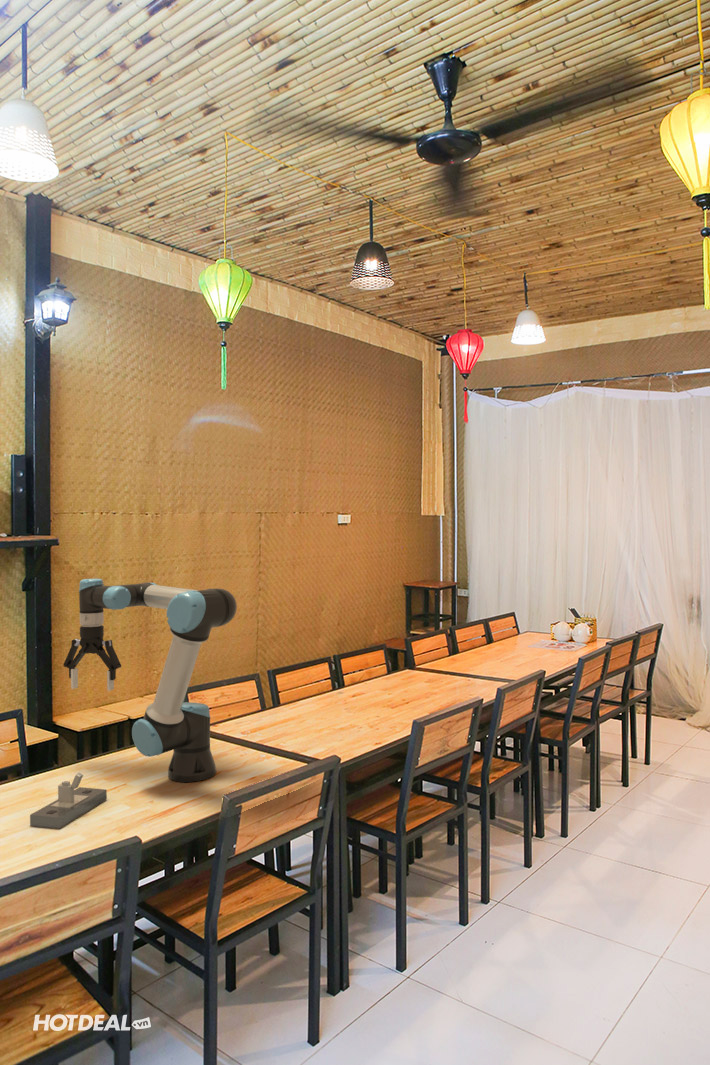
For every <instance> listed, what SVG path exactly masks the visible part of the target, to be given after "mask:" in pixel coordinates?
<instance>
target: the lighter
mask: <svg viewBox="0 0 710 1065" xmlns="http://www.w3.org/2000/svg"><path fill="white" fill-rule="evenodd" d="M83 777H84V774H83V773H82V772H80V771H79V772H77V773H76V774H75V776H74V778H73V781H72V783H71V782H70V781H67V780H65V781H62V782H61V783H60V784H59V785H57V789H58V790H57V797H58V798H57V800H58V801H64V802H72V801H74V790H76V789H77V788H79V786H80V784H81V781H82V778H83Z"/></svg>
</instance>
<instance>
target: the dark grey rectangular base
mask: <svg viewBox="0 0 710 1065" xmlns="http://www.w3.org/2000/svg"><path fill="white" fill-rule="evenodd" d="M107 793H108V792H107V789H105V788H103V789H102V788H96V787H95V788H92V787H81V786H80V787H79V786H78V787H77V788H76V789H74V801H72V802H64V801H58V799H55V800H54V801H53V802H51V803H49V804H47V805H46V806H43V807H42V808H39V809H38V810H36V811H35V812H33V813H31V814H30V815H29V826H30V827H36V828H47V829H54V830H55V829H56V830H59V829H61V828H63V827H65V826H67V825H68V824H70V823H71V822H73V821H75V820H76V819H78V818H80V817H81V816H83V815H84V814H85V813H88V812H89V811H90V810H92V809H94V808H96V807H97V806H99V805H101V804H102V803H104V802H105V801H107V800H106V799H107ZM103 801H104V802H103ZM95 806H96V807H95Z"/></svg>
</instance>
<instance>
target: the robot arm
mask: <svg viewBox="0 0 710 1065" xmlns="http://www.w3.org/2000/svg"><path fill="white" fill-rule="evenodd" d="M78 589H79V590H78V596H79V597H78V598H79V599H78V600H79V602H78V603H79V604H78V605H79V625H80V627H79V637H80V639H79V638H75V639H72V640H71V646H70V648H69V651H68V654H67V656H65V657H66V658H65V660H64V662H63V667H64V668H67V669H68V678H69V679H70V689H71V690H74V689H77V688H79V668H78V667H77V665H79V663H80V662H81V660H82V659H83V658H84V656H85V655H86V654H92V655H95V654H96V655H97V656H98V657H99V658H100V659H101V661H103V663H104V665H105V666H106V667H107V669H108V670H107V671H106V689H107V690H106V691H107V692H111V691H113V690H114V689H115V680H116V677H117V672H116V670H118V669H120V668H122V664H121V662H120V660H119V658H118V655H117V653H116V651H115V648H114V645H113V640H112V639H108V640H104V634H105V630H104V629H105V628H104V625H103V624H104V623H105V622H104V618H105V617H104V614H105V613H104V609H107V610H113V611H116V610H124V609H125V608H132V607H147V608H148V607H149V608H150V607H151V608H156V609H163V610H166V618H168V619H167V624H168V627H169V631H170V633H171V635H172V639H171V644H170V645H169V648H168V653H167V656H166V659H165V662H164V666H163V669H162V673H161V677H160V679H159V683H158V687H157V690H156V693H155V697H154V699H153V702H152V703H150V704H149V705H147V707H146V709H145V712H144V717H143V718H139V719H137V720H136V721H135V722H133V725H132V728H131V736H132V741H133V743H134V745H135V748H136V749H137V751H138V752H139V753H140V754H141V755H143V756H145V757H151V758H152V757H155V756H160V755H162V754H165V753H168V752H171V751H173V752H172V757H171V759H170V762H169V766H168V768H167V778H168V779H169V780H171V781H174V782H178V781H179V783H194V782H193V781H196V782H200V781H201V780H202V781H206V780H207V779H208V778H209V779H211V778H213V777H214V776H215V775H216V773H217V768H216V767H217V765H216V763H215V760H214V756H213V754H212V751H211V713H210V712H211V711H210V707H209V705H207V704H205V703H200V702H191V701H186V702H184V701H185V698H186V694H187V692H188V688H189V685H190V682H191V678H192V675H193V672H194V670H195V669H194V668H195V665H196V662H197V659H198V655H199V652H200V648H201V646H202V643H203V644H204V643H205V642H207V641H208V640H209V637H210V634H211V632H212V629H215V628H218V627H222V626H225V625H227V624H229V623H230V622H231V621H232V620H233V619H234V618H235V615H236V613H237V610H238V609H237V608H238V604H237V600H236V598H235V596H234V595H233V593H231V592H230V591H228V590H226V589H224V588H206V589H201V590H198V589H191V588H190V589H189V588H184V587H174V586H166V585H165V586H164V585H161V584H160V585H159V584H157V583H155V582H142V583H141V582H140V583H130V584H129V583H128V584H118V585H104V580H103V579H102V578H84V579H81V580H80V581H79V588H78ZM79 647H80V649H79ZM104 647H105V648H104ZM78 649H79V650H78ZM209 779H208V780H209Z"/></svg>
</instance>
